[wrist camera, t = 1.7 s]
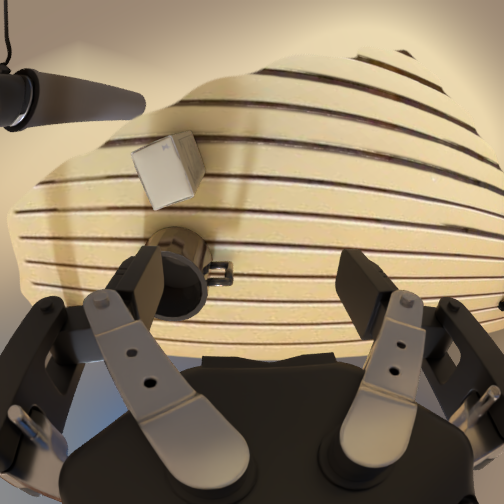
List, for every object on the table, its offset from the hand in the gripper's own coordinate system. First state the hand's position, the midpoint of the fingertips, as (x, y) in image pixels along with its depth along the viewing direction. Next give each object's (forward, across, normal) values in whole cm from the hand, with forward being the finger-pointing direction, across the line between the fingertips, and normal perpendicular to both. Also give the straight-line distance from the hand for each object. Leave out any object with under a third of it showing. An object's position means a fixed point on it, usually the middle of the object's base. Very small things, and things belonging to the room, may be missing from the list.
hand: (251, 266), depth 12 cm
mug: (+26, +7, +13) cm, 30 cm away
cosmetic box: (+26, +7, -2) cm, 27 cm away
